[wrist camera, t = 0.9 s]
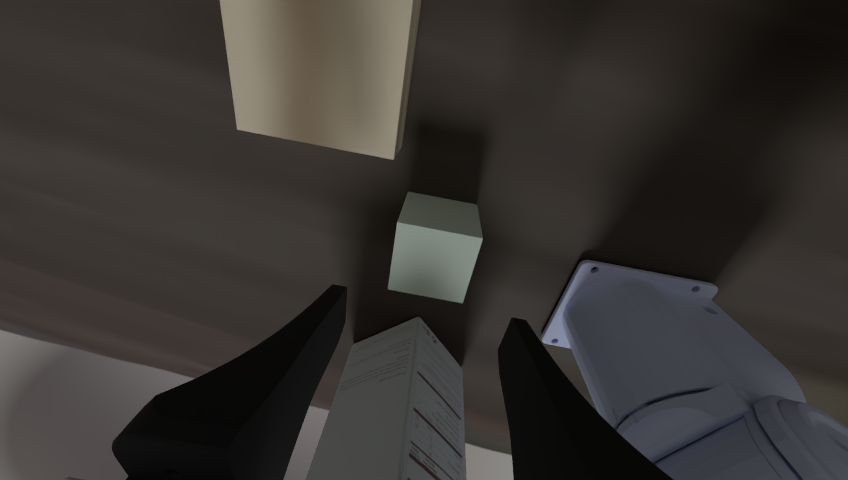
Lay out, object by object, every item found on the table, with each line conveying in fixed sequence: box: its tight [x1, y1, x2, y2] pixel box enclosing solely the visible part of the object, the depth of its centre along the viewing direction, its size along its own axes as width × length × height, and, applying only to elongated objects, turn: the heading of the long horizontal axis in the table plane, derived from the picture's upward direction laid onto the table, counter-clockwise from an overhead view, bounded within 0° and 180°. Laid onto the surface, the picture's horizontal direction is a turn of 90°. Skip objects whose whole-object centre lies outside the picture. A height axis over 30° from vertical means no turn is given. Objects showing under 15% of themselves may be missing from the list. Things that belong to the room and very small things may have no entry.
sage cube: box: [388, 192, 483, 303], centre depth 19 cm, size 4×4×4 cm
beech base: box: [220, 0, 421, 160], centre depth 15 cm, size 8×8×3 cm
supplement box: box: [306, 317, 466, 480], centre depth 22 cm, size 7×7×13 cm
